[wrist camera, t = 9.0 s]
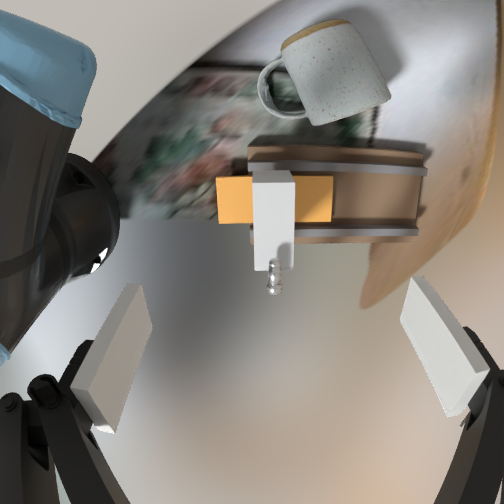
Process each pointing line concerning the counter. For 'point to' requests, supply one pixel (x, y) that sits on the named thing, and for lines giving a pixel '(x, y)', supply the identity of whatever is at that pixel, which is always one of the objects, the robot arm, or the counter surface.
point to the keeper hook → (274, 276)
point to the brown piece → (352, 190)
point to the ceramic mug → (328, 73)
